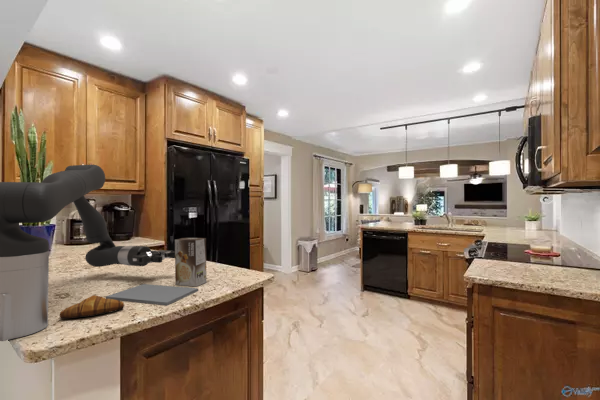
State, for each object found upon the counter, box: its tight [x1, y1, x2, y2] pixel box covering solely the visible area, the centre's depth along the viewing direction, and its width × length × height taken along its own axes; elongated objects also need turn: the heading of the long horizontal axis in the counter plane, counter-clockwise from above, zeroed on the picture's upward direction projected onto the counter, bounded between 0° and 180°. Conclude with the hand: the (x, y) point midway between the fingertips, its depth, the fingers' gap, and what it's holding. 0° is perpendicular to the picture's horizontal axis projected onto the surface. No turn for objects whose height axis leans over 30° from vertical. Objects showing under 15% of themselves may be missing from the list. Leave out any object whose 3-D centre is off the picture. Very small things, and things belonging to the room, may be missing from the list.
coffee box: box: [174, 237, 208, 287], centre depth 101 cm, size 9×6×16 cm
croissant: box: [59, 294, 125, 320], centre depth 73 cm, size 14×7×5 cm, turn 120°
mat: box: [105, 283, 199, 306], centre depth 88 cm, size 14×22×1 cm, turn 74°
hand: (170, 257), depth 104 cm, fingers open, 8 cm apart
